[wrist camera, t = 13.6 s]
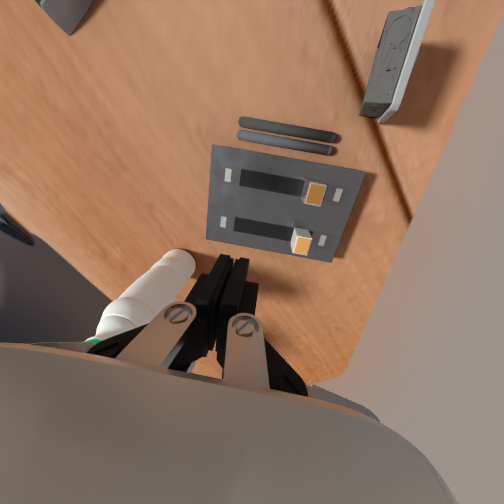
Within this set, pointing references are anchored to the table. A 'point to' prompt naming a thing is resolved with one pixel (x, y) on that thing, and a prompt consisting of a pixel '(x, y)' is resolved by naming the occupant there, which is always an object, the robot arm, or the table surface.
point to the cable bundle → (286, 130)
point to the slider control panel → (278, 201)
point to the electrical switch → (395, 60)
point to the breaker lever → (300, 241)
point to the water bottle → (146, 295)
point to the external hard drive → (65, 12)
